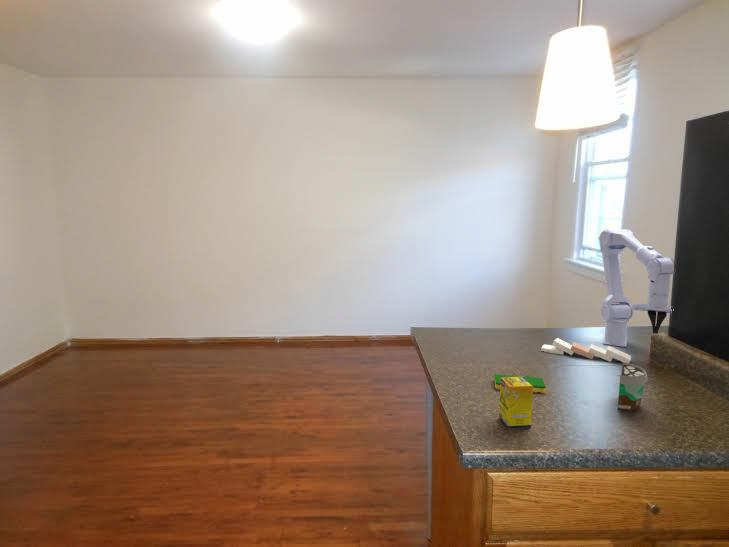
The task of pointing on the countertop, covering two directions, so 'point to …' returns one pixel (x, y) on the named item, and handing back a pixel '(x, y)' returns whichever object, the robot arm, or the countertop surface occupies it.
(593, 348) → the domino
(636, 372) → the food container
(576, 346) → the domino
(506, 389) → the supplement box
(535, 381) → the dish sponge
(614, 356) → the domino
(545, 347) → the domino
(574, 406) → the countertop surface
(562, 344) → the domino
